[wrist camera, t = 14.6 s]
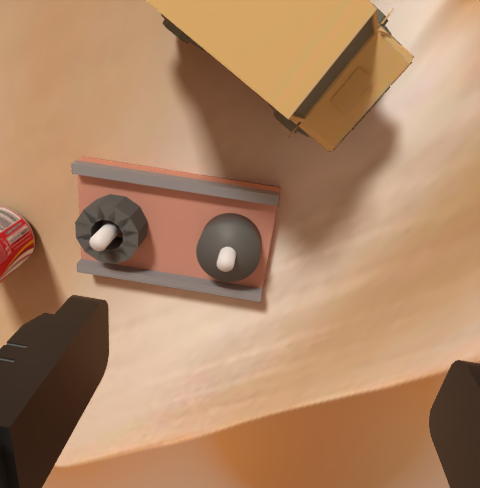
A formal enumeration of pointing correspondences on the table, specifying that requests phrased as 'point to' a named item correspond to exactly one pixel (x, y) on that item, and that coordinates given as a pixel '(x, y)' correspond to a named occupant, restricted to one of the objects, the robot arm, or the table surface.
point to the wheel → (123, 216)
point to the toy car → (298, 55)
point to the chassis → (184, 228)
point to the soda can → (14, 241)
